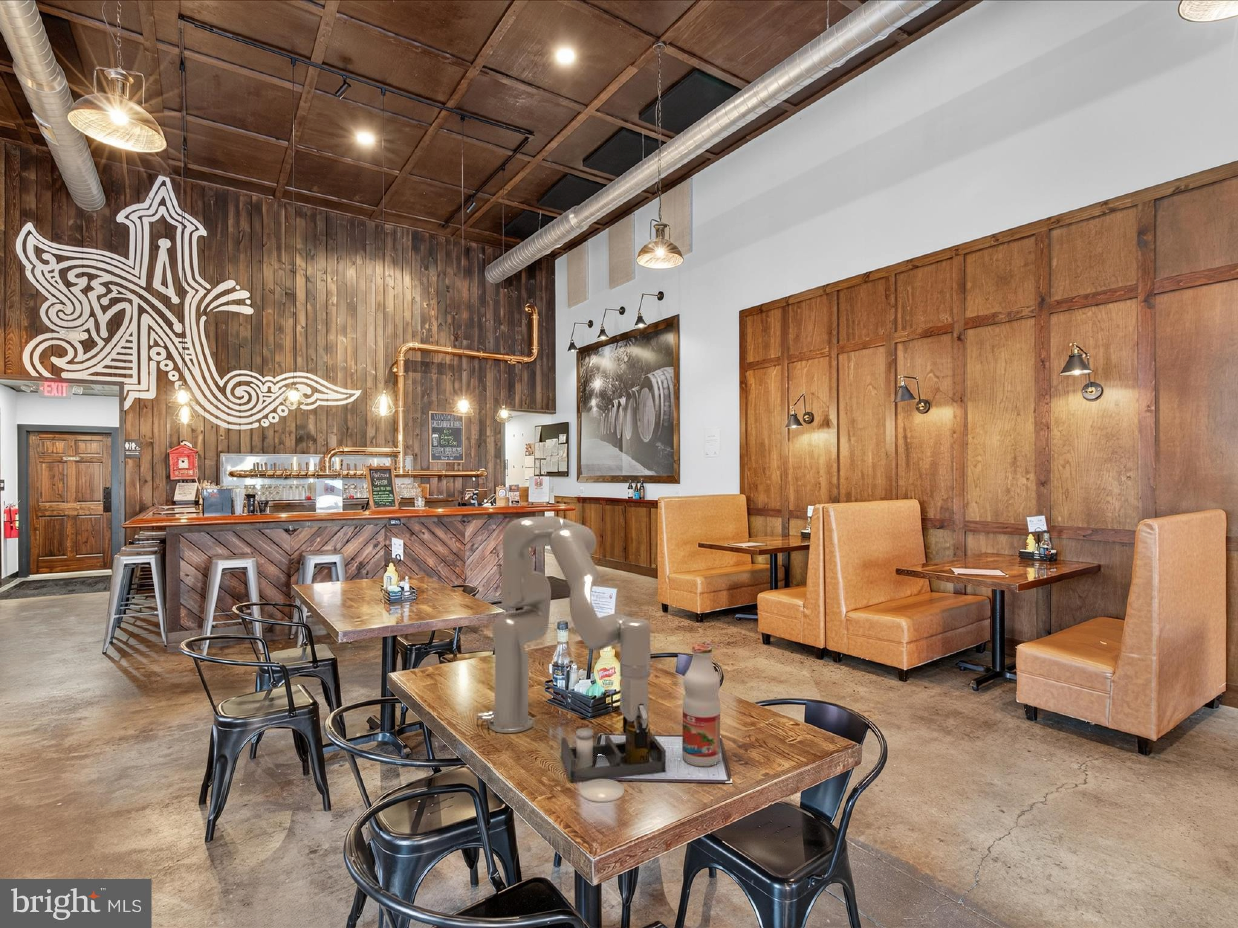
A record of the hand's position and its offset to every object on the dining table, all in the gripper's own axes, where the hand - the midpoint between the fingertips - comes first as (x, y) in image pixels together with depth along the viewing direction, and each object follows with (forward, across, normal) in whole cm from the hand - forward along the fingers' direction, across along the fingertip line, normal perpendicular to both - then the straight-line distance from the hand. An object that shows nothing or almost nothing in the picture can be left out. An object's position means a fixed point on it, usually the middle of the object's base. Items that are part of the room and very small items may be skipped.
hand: (634, 739), depth 154 cm
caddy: (+6, 0, -6) cm, 8 cm away
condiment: (+6, 0, 0) cm, 6 cm away
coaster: (+6, +12, -11) cm, 17 cm away
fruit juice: (+6, +2, +17) cm, 18 cm away
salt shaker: (+6, -2, -12) cm, 14 cm away
